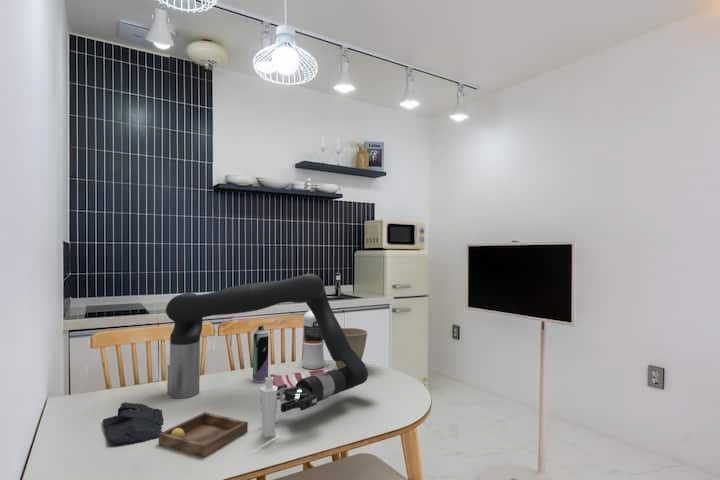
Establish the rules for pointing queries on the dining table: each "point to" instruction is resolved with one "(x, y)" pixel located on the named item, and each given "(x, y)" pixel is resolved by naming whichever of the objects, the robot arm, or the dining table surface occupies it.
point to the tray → (204, 434)
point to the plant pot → (354, 342)
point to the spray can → (260, 355)
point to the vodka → (312, 343)
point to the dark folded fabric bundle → (133, 424)
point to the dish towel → (293, 377)
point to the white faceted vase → (268, 407)
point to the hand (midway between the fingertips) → (271, 404)
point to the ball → (178, 432)
